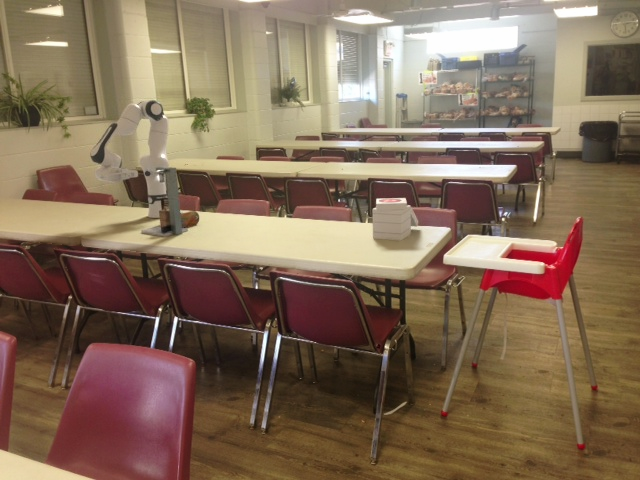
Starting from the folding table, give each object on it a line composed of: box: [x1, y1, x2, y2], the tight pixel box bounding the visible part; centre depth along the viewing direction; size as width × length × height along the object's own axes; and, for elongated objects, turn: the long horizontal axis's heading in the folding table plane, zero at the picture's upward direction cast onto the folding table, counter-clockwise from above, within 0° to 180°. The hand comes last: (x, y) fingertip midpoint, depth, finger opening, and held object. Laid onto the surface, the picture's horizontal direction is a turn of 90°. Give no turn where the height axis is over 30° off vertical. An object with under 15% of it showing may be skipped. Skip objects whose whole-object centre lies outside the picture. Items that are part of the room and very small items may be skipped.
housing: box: [159, 206, 171, 227], centre depth 315 cm, size 5×5×13 cm
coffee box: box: [161, 196, 169, 210], centre depth 339 cm, size 9×6×16 cm
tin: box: [181, 210, 200, 228], centre depth 331 cm, size 15×3×8 cm, turn 143°
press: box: [141, 166, 189, 238], centre depth 311 cm, size 22×22×36 cm
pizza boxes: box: [372, 197, 419, 241], centre depth 292 cm, size 19×30×18 cm, turn 153°
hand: (128, 176), depth 326 cm, fingers closed
